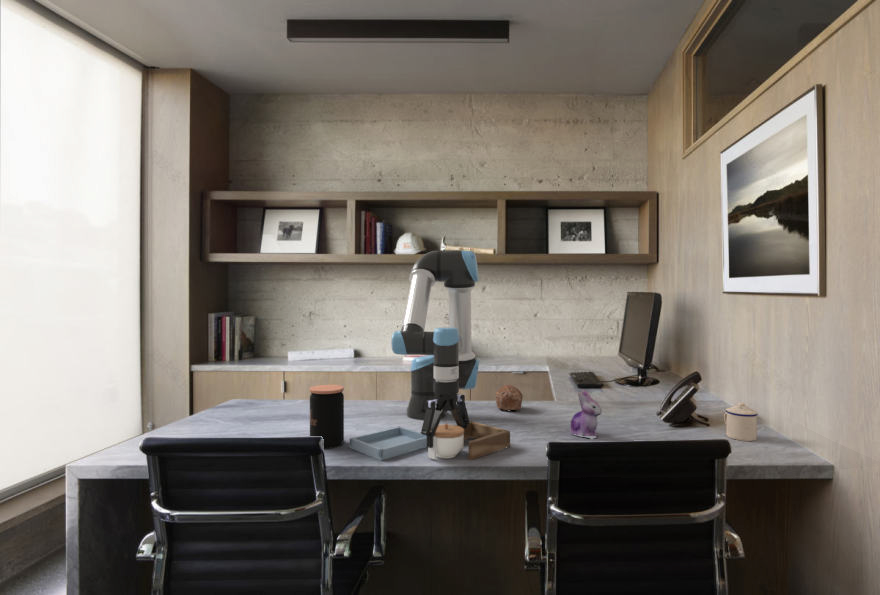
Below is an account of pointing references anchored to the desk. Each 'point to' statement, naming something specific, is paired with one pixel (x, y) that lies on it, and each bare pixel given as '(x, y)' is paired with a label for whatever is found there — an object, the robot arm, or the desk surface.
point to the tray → (389, 443)
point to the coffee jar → (327, 414)
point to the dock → (485, 439)
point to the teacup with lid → (741, 422)
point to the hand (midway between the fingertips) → (446, 453)
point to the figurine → (586, 416)
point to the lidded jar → (448, 440)
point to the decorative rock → (509, 398)
